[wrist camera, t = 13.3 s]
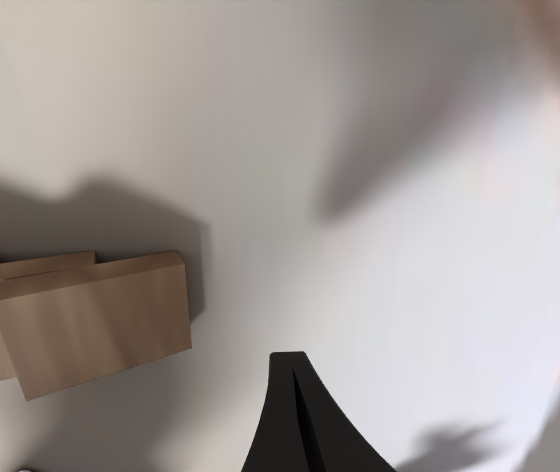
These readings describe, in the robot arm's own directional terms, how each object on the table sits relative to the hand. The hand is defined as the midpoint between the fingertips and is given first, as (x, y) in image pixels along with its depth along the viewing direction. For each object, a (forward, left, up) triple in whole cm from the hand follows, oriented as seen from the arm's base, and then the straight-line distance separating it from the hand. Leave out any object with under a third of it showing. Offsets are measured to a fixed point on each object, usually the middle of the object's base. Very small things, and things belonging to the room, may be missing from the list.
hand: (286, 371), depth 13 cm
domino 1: (+3, +3, -5) cm, 7 cm away
